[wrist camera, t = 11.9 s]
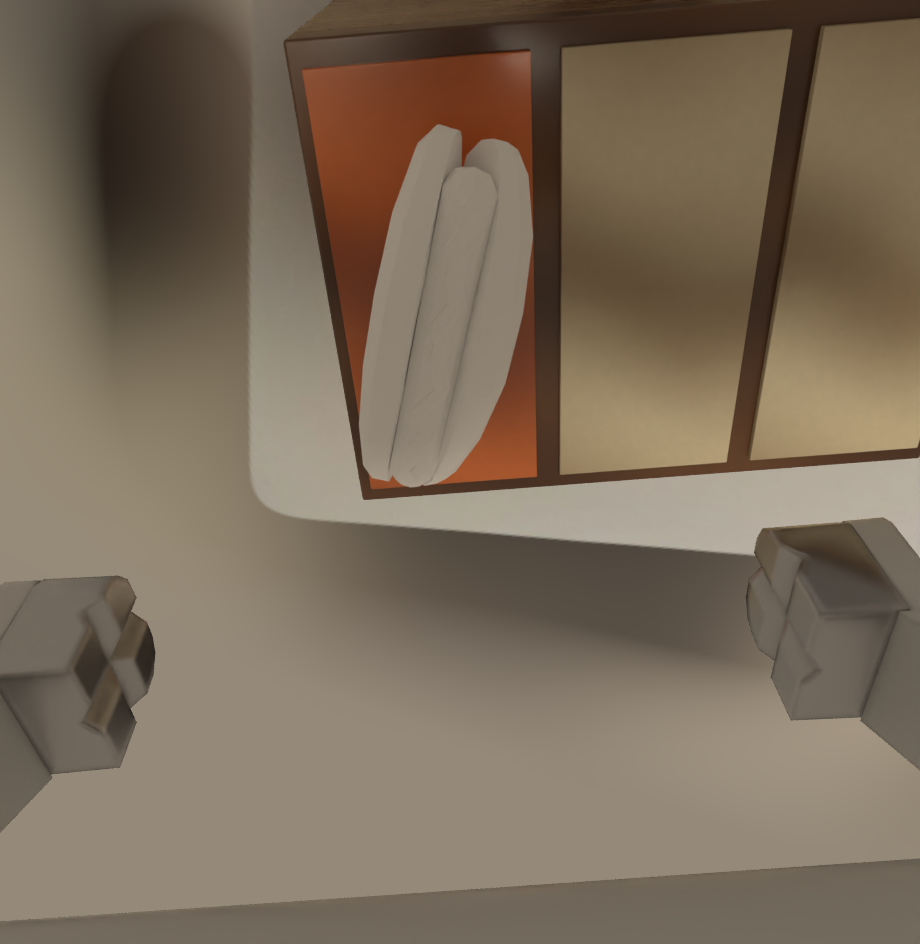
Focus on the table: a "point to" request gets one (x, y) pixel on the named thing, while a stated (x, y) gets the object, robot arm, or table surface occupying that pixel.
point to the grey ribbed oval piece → (445, 307)
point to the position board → (653, 226)
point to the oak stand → (440, 11)
